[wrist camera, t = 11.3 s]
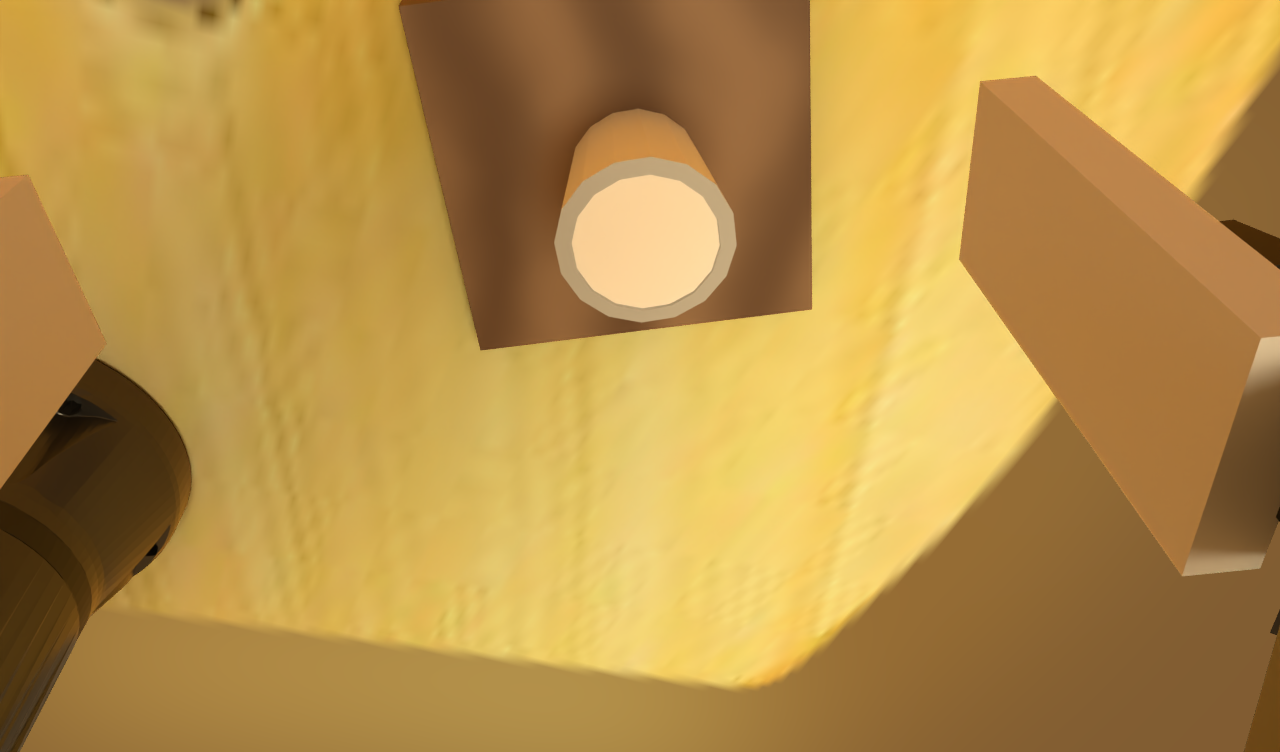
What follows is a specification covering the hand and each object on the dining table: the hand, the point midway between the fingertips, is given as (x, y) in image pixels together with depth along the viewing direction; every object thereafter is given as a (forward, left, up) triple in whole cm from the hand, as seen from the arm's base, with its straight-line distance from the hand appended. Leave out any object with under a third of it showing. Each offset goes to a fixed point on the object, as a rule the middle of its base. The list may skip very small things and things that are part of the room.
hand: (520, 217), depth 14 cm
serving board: (+2, -11, -29) cm, 31 cm away
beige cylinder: (+2, -11, -27) cm, 29 cm away
